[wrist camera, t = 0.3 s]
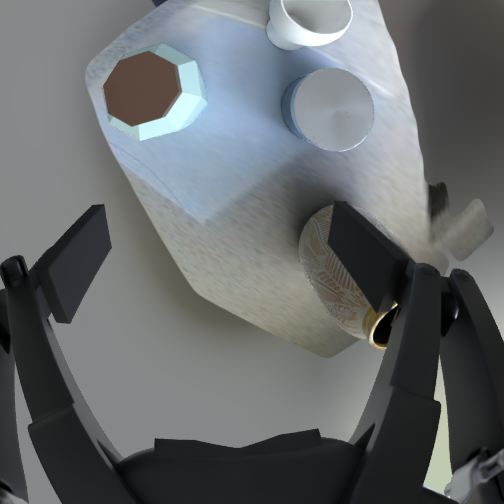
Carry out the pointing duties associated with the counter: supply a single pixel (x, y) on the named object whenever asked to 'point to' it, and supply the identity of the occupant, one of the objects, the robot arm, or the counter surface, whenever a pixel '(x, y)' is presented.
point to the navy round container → (328, 109)
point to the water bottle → (154, 92)
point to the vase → (343, 280)
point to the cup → (307, 22)
